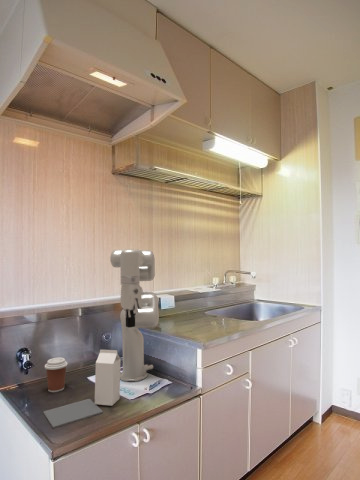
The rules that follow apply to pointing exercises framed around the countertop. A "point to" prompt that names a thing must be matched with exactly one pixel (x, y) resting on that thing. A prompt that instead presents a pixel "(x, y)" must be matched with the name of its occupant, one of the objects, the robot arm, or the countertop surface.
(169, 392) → the countertop surface
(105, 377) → the milk carton
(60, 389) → the coffee cup
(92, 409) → the mat
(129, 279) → the robot arm
